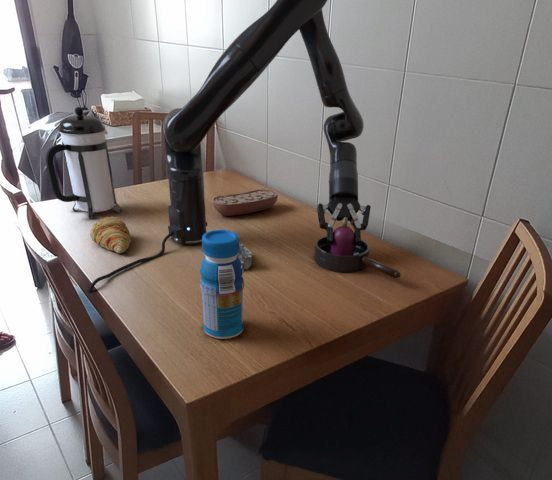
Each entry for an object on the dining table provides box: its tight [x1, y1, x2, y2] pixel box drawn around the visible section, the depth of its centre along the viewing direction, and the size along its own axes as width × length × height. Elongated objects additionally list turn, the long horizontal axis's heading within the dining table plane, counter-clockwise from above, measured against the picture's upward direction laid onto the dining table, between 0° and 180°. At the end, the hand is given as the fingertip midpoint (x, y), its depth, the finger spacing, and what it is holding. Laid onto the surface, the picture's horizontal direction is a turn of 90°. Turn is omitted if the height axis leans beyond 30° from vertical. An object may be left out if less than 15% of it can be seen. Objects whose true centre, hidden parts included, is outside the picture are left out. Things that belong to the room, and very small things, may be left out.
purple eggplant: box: [331, 217, 355, 256], centre depth 123 cm, size 6×6×11 cm
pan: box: [313, 235, 371, 273], centre depth 126 cm, size 14×14×4 cm
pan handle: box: [361, 257, 401, 279], centre depth 117 cm, size 12×2×2 cm, turn 40°
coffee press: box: [45, 106, 122, 220], centre depth 143 cm, size 17×16×30 cm
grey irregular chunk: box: [237, 243, 253, 270], centre depth 123 cm, size 11×8×4 cm
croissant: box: [89, 215, 132, 254], centre depth 131 cm, size 21×10×8 cm, turn 32°
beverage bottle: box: [199, 229, 245, 340], centre depth 92 cm, size 8×8×20 cm
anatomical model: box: [212, 188, 279, 217], centre depth 155 cm, size 23×10×5 cm, turn 124°
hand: (343, 243), depth 122 cm, fingers closed on purple eggplant, 6 cm apart
